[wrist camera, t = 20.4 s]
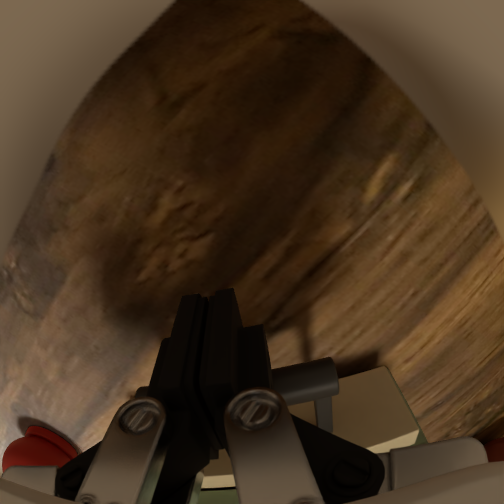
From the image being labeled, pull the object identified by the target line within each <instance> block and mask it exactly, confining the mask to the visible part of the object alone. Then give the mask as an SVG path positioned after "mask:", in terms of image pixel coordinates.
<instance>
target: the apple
mask: <svg viewBox="0 0 504 504" xmlns="http://www.w3.org/2000/svg"><path fill="white" fill-rule="evenodd" d="M77 456H78V455H77V452H76V450H75V449H74V448H73V447H72V446H71V445H70V444H69V443H68V442H67V441H65V440H64V439H63V438H61V437H60V436H58V435H57V434H55V433H53V432H51V431H49V430H47V429H45V428H42V427H39V426H30V427H29V428H28V429H27V431H26V433H25V437H22V438H19V439H17V440H15V441H13V442H12V443H11V444H10V445H9V446H8V447H7V449H6V450H5V452H4V455H3V459H2V469H3V472H4V471H5V470H6V469H7V468H8V467H10V466H14V465H28V466H48V465H58V466H59V467H60V468H61V467H62V466H63V465H64V464H66V463H67V462H69V461H70V460H72V459H74V458H75V457H77Z"/></svg>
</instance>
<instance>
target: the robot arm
mask: <svg viewBox="0 0 504 504" xmlns="http://www.w3.org/2000/svg"><path fill="white" fill-rule="evenodd" d="M224 448H225V450H226V452H227V454H228V456H229V458H230V460H231V466H232V471H233V476H234V481H235V486H236V491H237V496H238V501H239V504H504V461H499V462H489V463H488V458H487V454H486V451H485V448H484V446H483V444H482V443H480V442H479V441H478V440H477V439H475V438H472V437H457V438H453V439H448V440H443V441H438V442H433V443H427V444H421V445H415V446H408V447H400V448H392V449H390V451H389V452H384V453H373V452H372V451H370V450H368V449H366V448H363V447H361V446H359V445H356V444H354V443H352V442H349V441H347V440H345V439H343V438H340V437H338V436H336V435H334V434H332V433H330V432H327V431H325V430H323V429H321V428H319V427H317V426H315V425H313V424H311V423H309V422H307V421H305V420H303V419H301V418H299V417H297V416H295V415H293V414H291V413H290V412H289V409H288V407H287V404H286V401H285V400H284V398H283V397H282V395H281V394H279V393H278V392H277V391H275V390H274V387H273V379H272V371H271V363H270V357H269V351H268V345H267V340H266V335H265V330H264V326H263V324H261V325H255V326H249V327H243V325H242V320H241V316H240V312H239V308H238V304H237V300H236V296H235V292H234V289H233V288H229V289H223V290H217V291H216V292H215V295H214V296H210V299H209V302H208V299H207V297H201V295H200V294H199V293H198V294H191V295H185V296H182V297H181V301H180V304H179V308H178V311H177V315H176V318H175V322H174V325H173V329H172V332H171V336H170V337H168V338H164V339H163V340H162V342H161V346H160V349H159V353H158V356H157V359H156V363H155V366H154V370H153V373H152V377H151V380H150V384H149V388H148V391H147V395H146V397H138V398H134V399H132V400H130V401H128V402H126V403H125V404H123V405H122V406H121V407H120V408H119V409H118V411H117V412H116V414H115V415H114V417H113V419H112V421H111V424H110V426H109V428H108V430H107V432H106V434H105V436H104V438H103V440H102V441H100V442H99V443H97V444H96V445H94V446H93V447H91V448H89V449H88V450H86V451H85V452H83V453H82V454H80V455H78V456H77V457H75V458H74V459H72V460H70V461H69V462H67V463H66V464H64V465H63V466H62V467H61V468H60V467H59V466H58V465H48V466H28V465H14V466H10V467H8V468H7V469H6V470H5V471H4V472H3V474H2V476H1V477H0V504H197V503H198V499H199V495H200V491H201V486H202V482H203V478H204V469H203V468H204V467H206V466H207V465H208V464H209V463H210V460H215V459H219V450H223V449H224Z"/></svg>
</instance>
